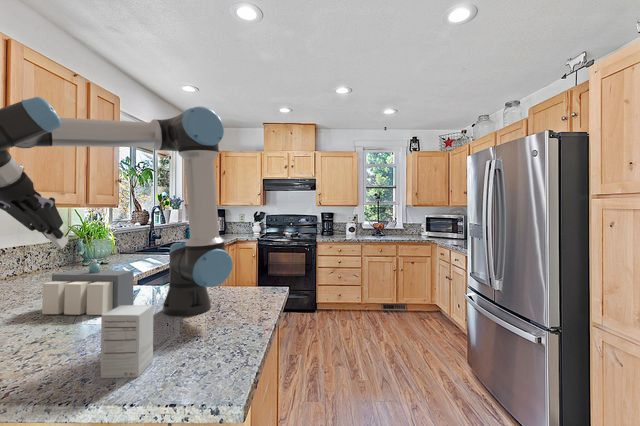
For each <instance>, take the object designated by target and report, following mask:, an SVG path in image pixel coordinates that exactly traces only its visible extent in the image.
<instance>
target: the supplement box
mask: <svg viewBox="0 0 640 426" xmlns="http://www.w3.org/2000/svg"><path fill="white" fill-rule="evenodd" d="M100 317H101V322H100V323H101V327H100V329H101V330H100V332H101V334H100V335H101V336H100V378H102V379H120V378H122V377H130V378H138V377H140V375H141V374H143V372H144V371H145V370H146V369H147V368H148V367H149V366H150V365H151V364H152V362H153V361H154V305H153V304H132V305H120V306H118V307H116V308H114V309H113V310H111V311H109V312H107V313H105V314H103V315H101V316H100ZM122 379H123V378H122Z"/></svg>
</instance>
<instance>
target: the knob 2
mask: <svg viewBox="0 0 640 426" xmlns="http://www.w3.org/2000/svg"><path fill="white" fill-rule="evenodd" d="M111 310H113V281H97V282H94V283H90V284H87V312H86V315H87V316H88V315H93V316H98V315H99V316H100V315H101V316H102V315H103V314H105V313H107V312H109V311H111Z"/></svg>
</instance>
